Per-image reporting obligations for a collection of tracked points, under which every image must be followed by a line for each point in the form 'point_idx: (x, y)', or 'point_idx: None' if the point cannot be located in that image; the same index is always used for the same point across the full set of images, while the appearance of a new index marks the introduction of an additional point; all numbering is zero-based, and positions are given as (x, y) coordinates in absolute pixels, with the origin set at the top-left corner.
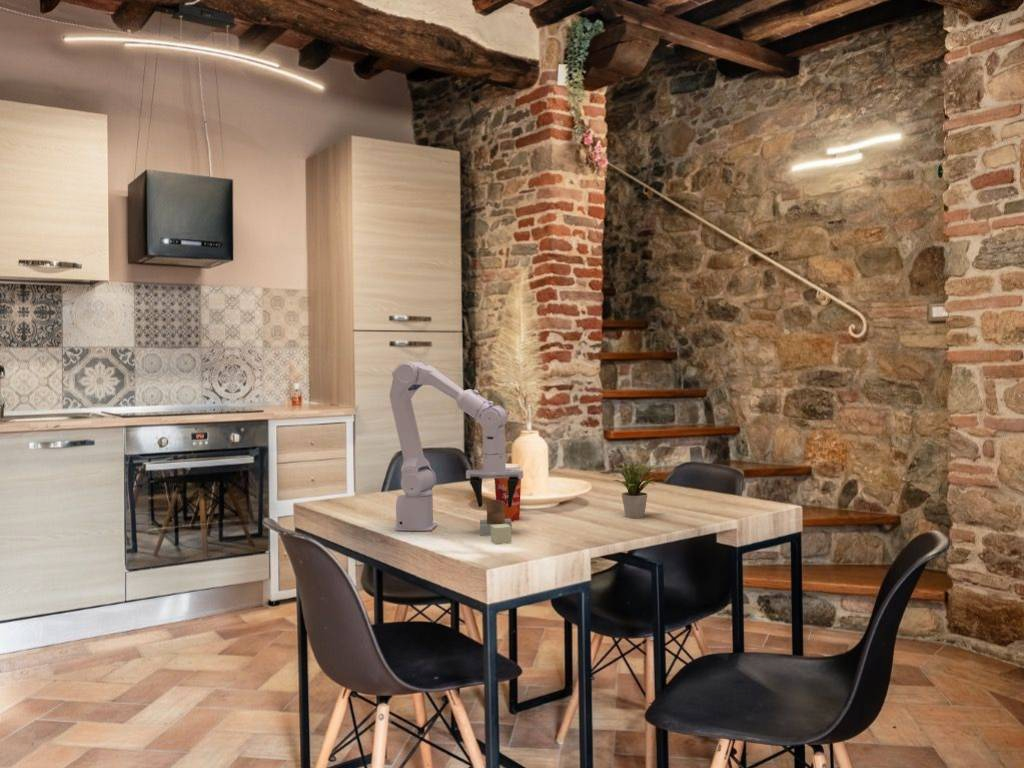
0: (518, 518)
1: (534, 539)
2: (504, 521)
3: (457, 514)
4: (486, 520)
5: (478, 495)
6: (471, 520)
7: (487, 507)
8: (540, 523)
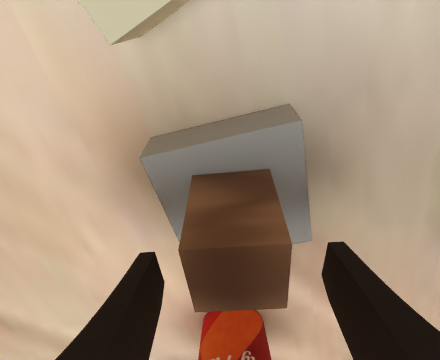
0: (203, 322)
1: (5, 59)
2: None
3: None
4: None
5: (385, 307)
6: None
7: (282, 225)
8: None
